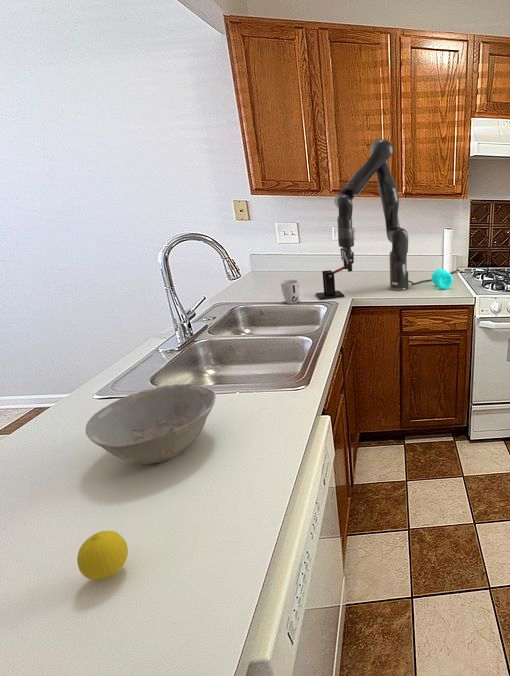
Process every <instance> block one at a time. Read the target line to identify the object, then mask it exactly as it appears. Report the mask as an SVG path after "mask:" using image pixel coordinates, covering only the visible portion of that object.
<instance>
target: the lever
mask: <svg viewBox="0 0 510 676" xmlns="http://www.w3.org/2000/svg"><path fill="white" fill-rule="evenodd" d="M345 268H347V264H345V266H344V265H343V266H342V267H339V268H338V269H335V270H333V271H332V272H334V275H335V274H337V273H340V272H341V271H343V270H345Z"/></svg>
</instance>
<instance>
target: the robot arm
mask: <svg viewBox="0 0 510 676" xmlns="http://www.w3.org/2000/svg"><path fill="white" fill-rule="evenodd" d="M393 152H394V148H393V145H392V143H391V142H390V141H389V140H388V139H384V138H383V139H376V140H374V141H372V142H371V144H370V147H369V153H370V156H369V158H368V159H367V160H366V162H365V163H364V164H363V165H362V166H361V167H359V169H357V170H356V171H355V173H354V174H353V175H352V176H351V178H350V179H349V181H348V182H347V183H346V185H345V186H344V187H343V188H342V189H340V191H339V192H338V193H337V194H336V196H335V198H334V205H335V207H336V208H337V209H338V215H337V217H336V219H337V220H336V221H337V222H336V223H337V242H338V243H337V244H338V247H340V249H339V250H340V257H341V261H342V263H343V267H344V266H345V264H347V268H345V269H344V270H346V271H347V272H349V273H350V272H353V264H354V262H355V252H354V251H353V250H352V248H353V247H355V238H354V229H353V205H354V203H353V199H354V198H355V197H356V196H358V195H360V194H361V192H362V191H363V189H364V188H365V186H366V185H367V184H368V182H369V181H370V179H372V177H373V176H374V174H375V176H376V180H377V186H378V192H379V198H380V201H381V207H382V211H383V215H384V221H385V232H386V233H385V234H386V238H387V240H388V242H390V243H391V251H390V252H389V256H388V257H389V289H390V290H392V291H405V290H408V289H409V283H410V284H411V285H418V284H420V283H425V282H433V281H432V278H431V279H424V280H420V281H417V282H414V281H412V280H409V271H408V261H407V260H408V259H407V256H408V252H409V234H408V231H407V230H406V228H403V227H401V226H400V221H399V206H400V196H399V191H398V187H397V186H398V185H397V183H396V181H395V179H394V177H393V175H392V173H391V169H390V165H389V159H390V158H391V157H392V155H393ZM460 270H461V269H457V270H453V271H451V272H449V273H450V274H451V275H452V274H454V273H457V272H461V273H464V271H463V270H462V271H460Z"/></svg>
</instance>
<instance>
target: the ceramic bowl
mask: <svg viewBox="0 0 510 676" xmlns="http://www.w3.org/2000/svg"><path fill="white" fill-rule="evenodd" d="M215 402H216V392H214V390H213V389H209V387H204V386H203V385H199V384H190V383H186V384H184V383H182V384H170V385H164V386H163V385H162V386H158V387H155V389H154V388H150V389H145V390H142V391H139V392H136V393H131V394H129V395H126V396H124V397H122V398H119V399H117V400H116V401H113V402H111V403H109V404H108V405H106V406H104V407H103V408H101V409H100V410H98V411H97V412H95V413H94V414H93V415H92V416H91V417H90V418H89V419H88V420H87V422H86V424H85V435H86V436H87V438H88V439H89V440H90V441H91V442H92V443H94V445H97V446H98V447H101V449H103V450H105V452H107V453H109V454H111V455H112V456H113V457H115V458H116V459H120V460H122V461H126V462H128V463H129V462H130V463H134V464H141V465H149V464H156V463H163V462H168V461H169V460H171V459H174V458H175V457H176V456H178V455H179V454H180V453H181V452H182V451H183V450H185V449H186V448H187V447H188V446H189V445H191V443H192V442H193V441H194V440H195V439H196V438H197V437H198V436H199V435H200V434H201V433H202V431H203V430H204V427H205V424H206V422H207V419H208V417H209V415H210V413H211V411H212V409H213V407H214V405H215Z"/></svg>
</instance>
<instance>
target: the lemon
mask: <svg viewBox="0 0 510 676" xmlns="http://www.w3.org/2000/svg"><path fill="white" fill-rule="evenodd" d="M128 549H129V547H128V543H127V542H126V539H125V538H124V537H123V535H121V534H120V532H119V533H118V532H116V531H114V530H102V531H99V532H96V533H94V534H92V535H91V536H89V537H88V538H86V540H85V541H84V542H83V543H82V544H81V545H80V547H79V549H78V552H77V557H76V560H77V561H76V562H77V566H78V567H77V568H78V570H79V572H80V573H81V575H82V576H84V577H85V578H86V579H88V580H92V581H101V580H105V579H108V578H110V577H112V576H114V575H115V574H117V573H118V572H119V571H120V570H121V569H122V568H123V566H124V565H125V563H126V562H127V558H128V555H129V550H128Z"/></svg>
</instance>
